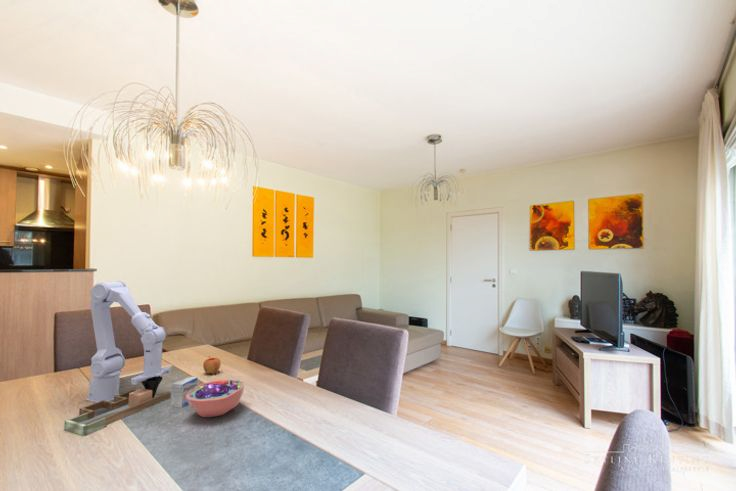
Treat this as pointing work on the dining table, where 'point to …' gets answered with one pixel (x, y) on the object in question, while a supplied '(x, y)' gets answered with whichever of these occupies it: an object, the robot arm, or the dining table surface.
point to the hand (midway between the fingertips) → (150, 397)
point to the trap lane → (108, 413)
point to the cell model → (215, 397)
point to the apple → (211, 365)
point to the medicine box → (182, 391)
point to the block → (139, 396)
